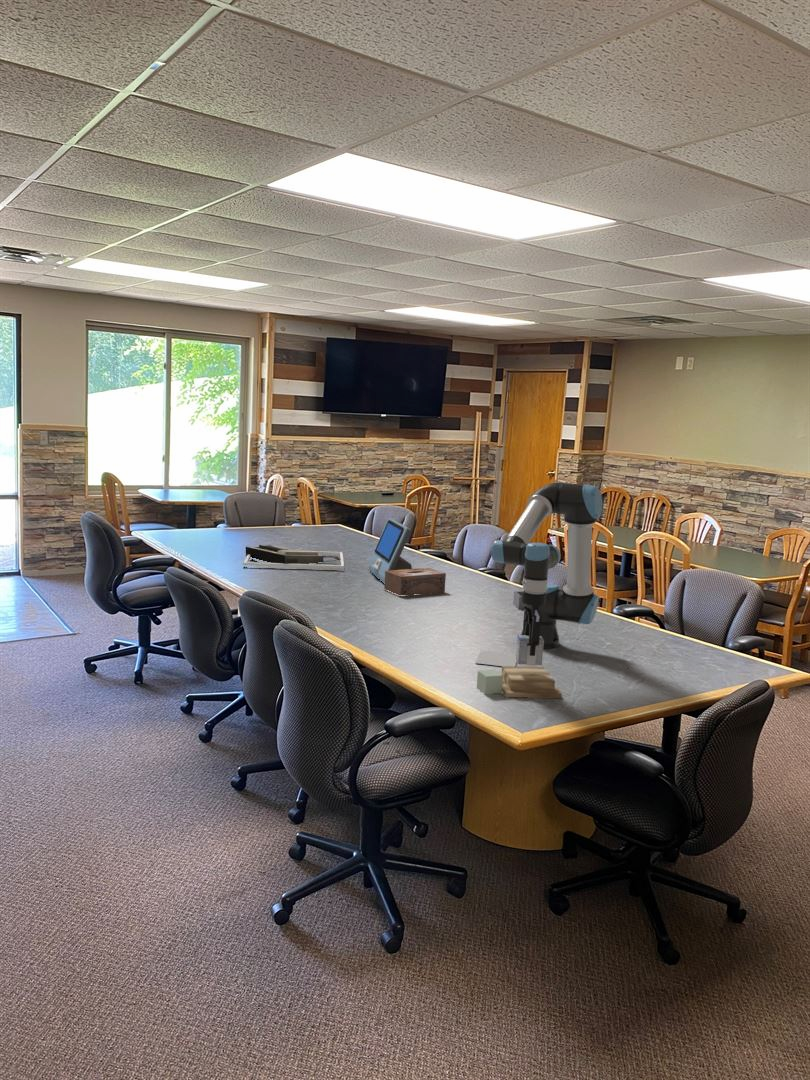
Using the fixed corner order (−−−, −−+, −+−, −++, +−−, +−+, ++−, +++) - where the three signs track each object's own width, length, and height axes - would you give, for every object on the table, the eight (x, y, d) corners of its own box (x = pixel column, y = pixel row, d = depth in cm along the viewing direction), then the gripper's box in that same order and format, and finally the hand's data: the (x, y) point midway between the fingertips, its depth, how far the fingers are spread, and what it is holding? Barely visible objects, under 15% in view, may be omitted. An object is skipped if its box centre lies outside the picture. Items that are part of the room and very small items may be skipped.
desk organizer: (513, 603, 385) (514, 591, 384) (556, 604, 387) (557, 592, 386) (518, 609, 374) (519, 596, 373) (563, 610, 377) (564, 597, 376)
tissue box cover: (399, 597, 387) (401, 576, 385) (384, 591, 399) (385, 570, 397) (444, 593, 401) (445, 573, 399) (428, 587, 413) (429, 567, 411)
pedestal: (493, 678, 274) (494, 664, 274) (546, 679, 276) (547, 665, 275) (505, 697, 257) (506, 682, 256) (561, 698, 259) (562, 683, 258)
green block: (476, 688, 264) (477, 670, 263) (493, 687, 266) (494, 669, 265) (484, 694, 258) (486, 676, 257) (501, 693, 261) (503, 675, 260)
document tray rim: (250, 554, 476) (250, 548, 475) (342, 557, 481) (342, 552, 480) (243, 568, 434) (243, 562, 434) (343, 571, 440) (343, 565, 439)
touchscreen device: (365, 571, 442) (369, 516, 438) (400, 572, 448) (405, 518, 443) (381, 585, 409) (386, 526, 404) (418, 586, 414) (424, 528, 410)
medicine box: (539, 661, 267) (541, 635, 266) (542, 665, 263) (544, 639, 262) (515, 660, 267) (517, 634, 266) (517, 664, 263) (519, 638, 261)
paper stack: (544, 658, 301) (544, 657, 301) (540, 680, 277) (541, 678, 277) (481, 651, 306) (481, 650, 305) (472, 672, 281) (472, 670, 281)
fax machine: (345, 563, 455) (345, 546, 453) (296, 573, 430) (296, 555, 428) (294, 552, 485) (293, 536, 483) (246, 561, 461) (245, 544, 459)
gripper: (516, 585, 270) (511, 653, 273) (529, 597, 252) (523, 670, 256) (538, 586, 271) (533, 654, 274) (553, 598, 253) (547, 671, 257)
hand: (528, 662), depth 265 cm, fingers closed on medicine box, 5 cm apart
